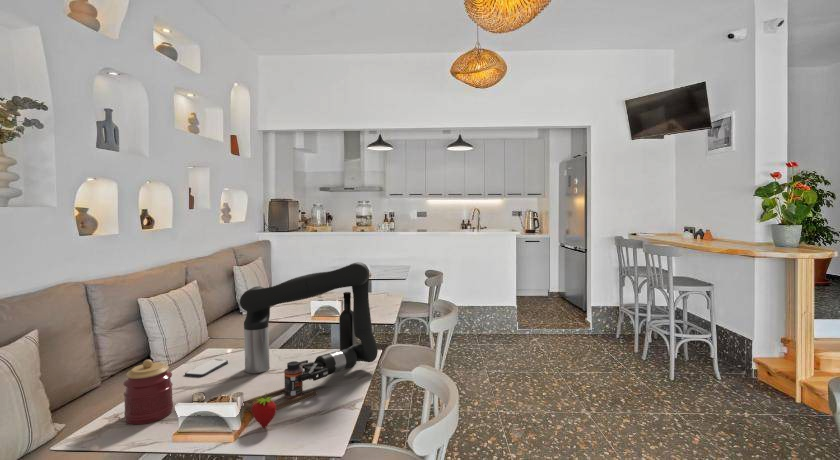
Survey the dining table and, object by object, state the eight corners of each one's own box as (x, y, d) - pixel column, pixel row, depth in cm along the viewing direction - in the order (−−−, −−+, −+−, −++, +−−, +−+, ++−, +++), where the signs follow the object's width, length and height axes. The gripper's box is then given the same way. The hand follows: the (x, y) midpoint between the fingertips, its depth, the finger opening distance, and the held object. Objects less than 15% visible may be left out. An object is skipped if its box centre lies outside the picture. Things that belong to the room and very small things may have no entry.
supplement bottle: (297, 399, 143) (296, 366, 143) (281, 398, 144) (280, 365, 144) (305, 392, 149) (305, 360, 148) (290, 391, 150) (289, 359, 150)
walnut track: (242, 405, 139) (242, 401, 139) (299, 386, 154) (299, 382, 154) (258, 416, 131) (258, 412, 131) (316, 394, 147) (316, 391, 147)
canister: (143, 405, 140) (141, 352, 139) (182, 405, 140) (180, 352, 139) (113, 425, 127) (111, 367, 126) (156, 425, 127) (154, 367, 126)
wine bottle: (344, 361, 179) (343, 291, 178) (357, 362, 178) (356, 291, 177) (339, 366, 174) (337, 293, 173) (352, 367, 173) (351, 294, 171)
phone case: (202, 379, 164) (229, 363, 179) (202, 374, 164) (229, 359, 179) (183, 377, 166) (211, 362, 181) (182, 373, 165) (211, 358, 181)
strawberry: (260, 420, 129) (259, 387, 129) (281, 423, 127) (280, 391, 126) (246, 429, 123) (246, 396, 123) (268, 433, 121) (267, 399, 121)
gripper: (319, 349, 162) (280, 360, 150) (342, 357, 153) (302, 370, 141) (319, 368, 163) (280, 381, 151) (342, 378, 153) (302, 392, 141)
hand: (291, 375), depth 146 cm, fingers open, 8 cm apart
